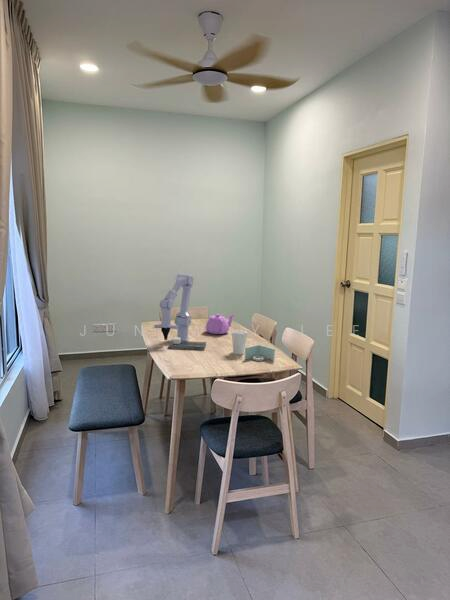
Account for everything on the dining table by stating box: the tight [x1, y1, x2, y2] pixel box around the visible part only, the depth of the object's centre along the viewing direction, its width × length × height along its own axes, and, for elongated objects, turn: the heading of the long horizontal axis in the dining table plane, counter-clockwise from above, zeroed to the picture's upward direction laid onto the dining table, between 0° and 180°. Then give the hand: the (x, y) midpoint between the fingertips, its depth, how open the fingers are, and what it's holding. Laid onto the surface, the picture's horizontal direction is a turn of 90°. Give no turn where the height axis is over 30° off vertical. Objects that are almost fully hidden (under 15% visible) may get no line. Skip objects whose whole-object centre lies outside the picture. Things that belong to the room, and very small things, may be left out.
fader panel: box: [168, 340, 207, 351], centre depth 258 cm, size 12×22×2 cm, turn 88°
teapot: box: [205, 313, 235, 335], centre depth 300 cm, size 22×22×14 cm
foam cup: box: [231, 329, 248, 355], centre depth 248 cm, size 10×9×13 cm
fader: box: [172, 336, 181, 344], centre depth 258 cm, size 5×4×3 cm
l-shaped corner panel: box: [244, 344, 276, 362], centre depth 235 cm, size 12×12×8 cm
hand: (165, 339), depth 258 cm, fingers closed
